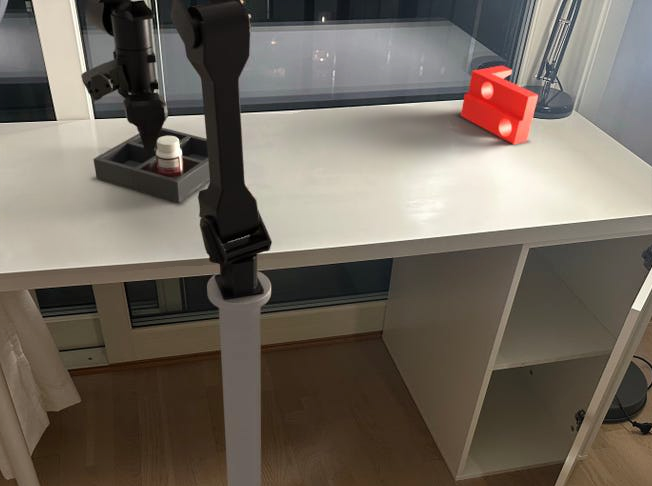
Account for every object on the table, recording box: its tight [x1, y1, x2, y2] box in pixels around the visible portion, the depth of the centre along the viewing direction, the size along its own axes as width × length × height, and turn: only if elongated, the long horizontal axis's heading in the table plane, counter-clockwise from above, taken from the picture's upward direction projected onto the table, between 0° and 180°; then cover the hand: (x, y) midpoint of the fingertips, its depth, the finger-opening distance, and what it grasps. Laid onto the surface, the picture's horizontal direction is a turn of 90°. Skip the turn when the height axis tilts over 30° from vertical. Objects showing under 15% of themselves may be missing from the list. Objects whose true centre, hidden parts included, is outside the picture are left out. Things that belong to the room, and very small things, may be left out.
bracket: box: [460, 65, 539, 145], centre depth 160 cm, size 18×10×10 cm
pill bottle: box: [156, 136, 184, 179], centre depth 131 cm, size 5×5×8 cm
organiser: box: [92, 127, 210, 204], centre depth 137 cm, size 19×19×4 cm
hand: (145, 142), depth 119 cm, fingers open, 9 cm apart
